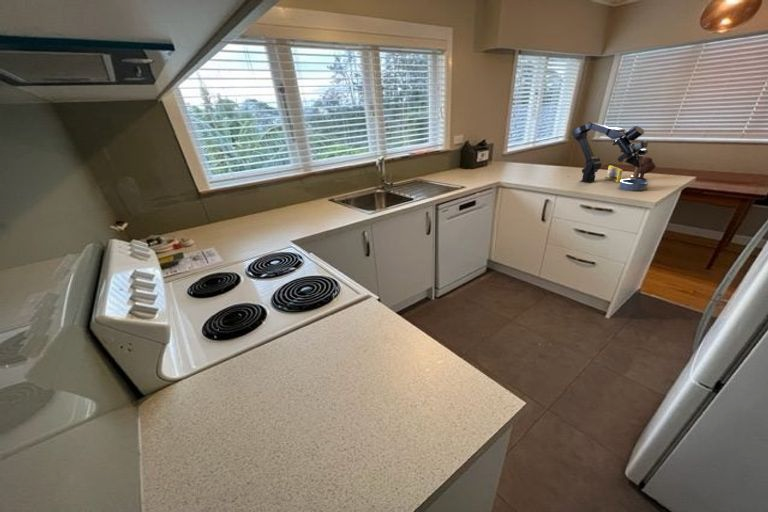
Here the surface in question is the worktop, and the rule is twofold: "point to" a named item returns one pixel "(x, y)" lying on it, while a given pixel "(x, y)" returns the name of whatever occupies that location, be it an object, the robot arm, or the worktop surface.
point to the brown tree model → (646, 167)
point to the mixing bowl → (633, 184)
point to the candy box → (614, 173)
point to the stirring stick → (636, 171)
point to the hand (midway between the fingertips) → (640, 166)
